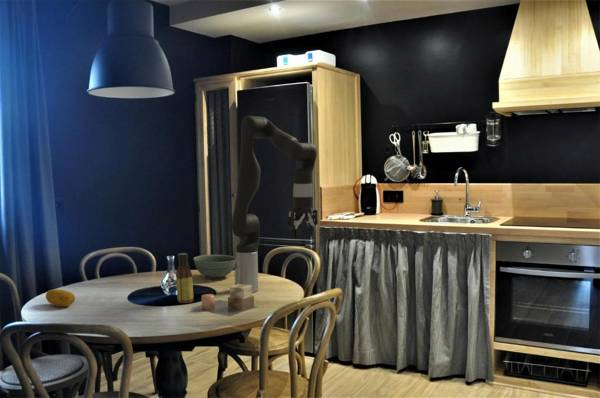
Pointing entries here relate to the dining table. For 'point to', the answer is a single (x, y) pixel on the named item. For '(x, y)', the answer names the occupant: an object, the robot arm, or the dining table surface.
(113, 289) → the dining table surface
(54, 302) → the potato
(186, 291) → the sauce bottle
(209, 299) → the pink cube
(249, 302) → the walnut block
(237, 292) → the birch block
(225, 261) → the bowl
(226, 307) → the slate board
